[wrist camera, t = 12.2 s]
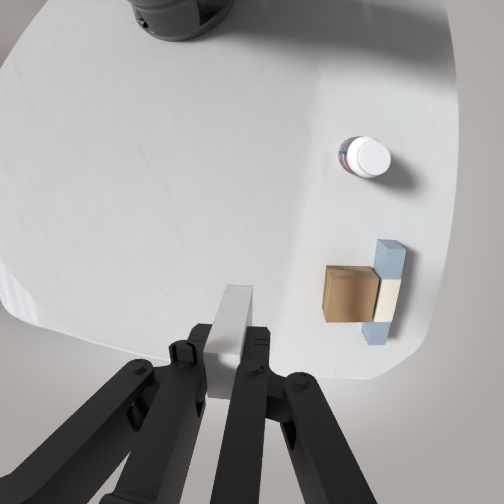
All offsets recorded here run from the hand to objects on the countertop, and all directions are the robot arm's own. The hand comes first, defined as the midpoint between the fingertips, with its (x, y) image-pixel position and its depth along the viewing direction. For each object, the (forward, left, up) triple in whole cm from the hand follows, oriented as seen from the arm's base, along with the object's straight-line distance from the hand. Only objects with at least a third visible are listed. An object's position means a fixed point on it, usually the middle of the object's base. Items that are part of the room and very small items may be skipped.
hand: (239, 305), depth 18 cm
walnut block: (+13, -11, -27) cm, 32 cm away
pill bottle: (+13, +9, -27) cm, 31 cm away
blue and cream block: (+19, -11, -26) cm, 34 cm away
